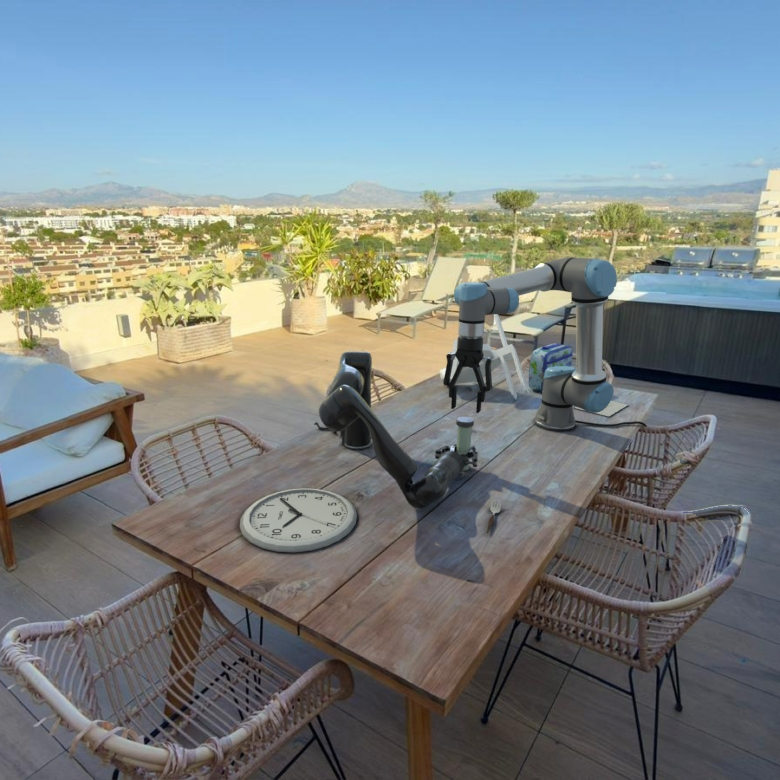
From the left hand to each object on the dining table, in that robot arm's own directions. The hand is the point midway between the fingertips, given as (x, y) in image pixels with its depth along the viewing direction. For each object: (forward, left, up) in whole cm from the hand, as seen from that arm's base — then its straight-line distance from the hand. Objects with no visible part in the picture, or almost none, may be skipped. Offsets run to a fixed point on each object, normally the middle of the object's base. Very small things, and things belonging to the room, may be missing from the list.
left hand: (465, 447), depth 167 cm
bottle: (0, -3, -6) cm, 7 cm away
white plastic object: (-19, +77, -6) cm, 80 cm away
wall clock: (-27, -52, -6) cm, 59 cm away
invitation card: (+34, +83, -6) cm, 90 cm away
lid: (0, -3, +10) cm, 10 cm away
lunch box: (+8, +101, -6) cm, 101 cm away
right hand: (0, -3, +14) cm, 14 cm away
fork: (+17, -29, -6) cm, 34 cm away
